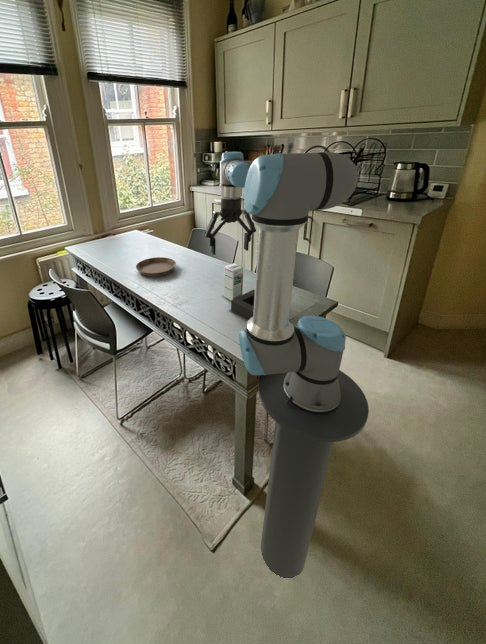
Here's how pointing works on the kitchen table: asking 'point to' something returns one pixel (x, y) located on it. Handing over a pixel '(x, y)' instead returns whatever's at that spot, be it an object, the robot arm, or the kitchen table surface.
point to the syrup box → (233, 281)
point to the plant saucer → (156, 266)
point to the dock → (244, 305)
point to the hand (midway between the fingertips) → (229, 251)
